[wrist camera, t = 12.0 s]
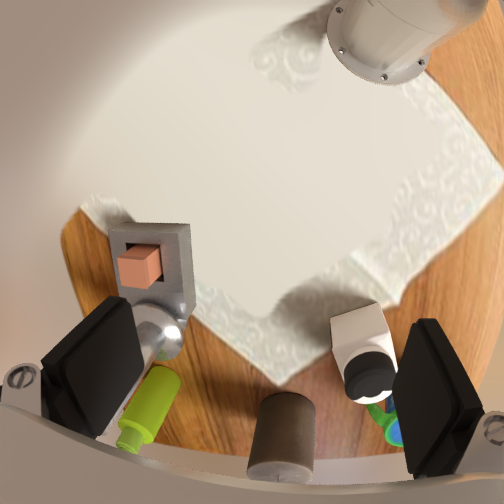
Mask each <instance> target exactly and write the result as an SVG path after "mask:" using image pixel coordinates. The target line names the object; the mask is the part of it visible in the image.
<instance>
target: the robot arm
mask: <svg viewBox="0 0 504 504" xmlns="http://www.w3.org/2000/svg"><path fill="white" fill-rule="evenodd" d="M503 1H504V0H503ZM487 3H488V0H340V1H339V2H337V3H336V4H335V5H334V7H333V9H332V10H331V12H330V15H329V18H328V22H327V36H328V40H329V44H330V46H331V48H332V50H333V52H334V54H335V55H336V57H337V58H338V59H339V61H340V62H341V63H342V64H343V65H344V66H345V67H346V68H347V69H348V70H350V71H351V72H352V73H354V74H355V75H357V76H359V77H361V78H362V79H364V80H367V81H369V82H373V83H375V84H381V85H399V84H404V83H406V82H409V81H411V80H413V79H414V78H416V77H418V76H419V75H420V74H421V73H422V72H423V71H424V69H425V68H426V66H427V65H428V62H429V59H430V53H431V51H433V50H434V49H436V48H437V47H439V46H441V45H442V44H444V43H445V42H447V41H449V40H450V39H452V38H453V37H455V36H457V35H458V34H460V33H462V32H463V31H465V30H466V29H468V28H470V27H471V26H473V25H474V24H475V23H476V22H478V21H479V19H480V18H481V17H482V15H483V14H484V12H485V9H486V6H487ZM337 11H339V12H341V13H337ZM339 51H343V54H341V53H339ZM418 62H420V64H421V65H420V64H419V63H418ZM381 77H384V80H382V79H381ZM41 363H42V365H43V367H44V368H43V369H42V370H41V371H40V369H39V367H38V366H36V365H35V364H32V363H22V364H19V365H16V366H15V367H13V368H11V369H10V370H9V371H8V372H7V373H6V375H5V377H4V380H3V385H2V386H0V504H504V412H500V411H491V412H488V413H486V414H485V412H484V410H483V408H482V407H483V406H482V403H481V401H480V399H479V397H478V395H477V393H476V391H475V389H474V387H473V385H472V383H471V381H470V379H469V377H468V375H467V373H466V371H465V369H464V367H463V365H462V363H461V362H460V360H459V358H458V356H457V354H456V352H455V351H454V349H453V347H452V345H451V343H450V342H449V340H448V338H447V337H446V335H445V333H444V331H443V330H442V328H441V326H440V325H439V323H438V321H437V320H436V319H434V318H420V319H418V321H417V323H413V324H412V326H411V329H410V333H409V336H408V339H407V343H406V346H405V349H404V352H403V355H402V358H401V362H400V365H399V367H398V370H397V373H396V376H395V379H394V382H393V385H392V397H393V401H394V405H395V409H396V414H397V418H398V423H399V427H400V432H401V437H402V442H403V447H404V452H405V458H406V463H407V469H408V472H409V473H410V474H413V477H414V480H408V481H398V482H387V483H372V484H355V485H354V484H353V485H311V484H310V485H307V484H291V483H278V482H267V481H258V480H249V479H242V478H235V477H228V476H223V475H217V474H212V473H206V472H202V471H197V470H192V469H187V468H183V467H179V466H175V465H171V464H167V463H164V462H160V461H156V460H153V459H149V458H146V457H142V456H139V455H136V454H133V453H130V452H127V451H124V450H121V449H118V448H115V447H112V446H109V445H107V444H104V443H102V442H99V441H96V440H95V439H96V437H97V436H100V435H102V434H103V432H104V431H105V429H106V428H107V426H108V424H109V423H110V421H111V420H112V418H113V417H114V415H115V414H116V412H117V410H118V409H119V407H120V406H121V404H122V403H123V401H124V400H125V398H126V397H127V395H128V393H129V392H130V390H131V389H132V387H133V386H134V384H135V383H136V381H137V380H138V378H139V377H140V375H141V374H142V372H143V370H144V364H145V363H144V359H143V355H142V351H141V346H140V342H139V338H138V334H137V329H136V325H135V320H134V316H133V311H132V306H131V304H130V303H129V302H128V301H127V299H126V298H124V297H117V296H109V297H108V298H107V299H105V300H104V301H103V302H102V303H101V304H100V305H99V306H98V307H97V308H95V309H94V310H93V311H92V312H91V313H90V314H89V315H88V316H87V317H86V318H85V319H83V321H82V322H80V323H79V324H78V325H77V326H76V327H75V328H74V329H73V330H72V331H71V332H70V333H69V334H67V335H66V336H65V337H64V338H63V339H62V340H61V341H60V342H59V343H58V344H57V345H56V346H55V347H54V348H53V349H52V350H51V351H50V352H49V353H48V354H47V355H46V356H45V357H44V358H43V359H42V360H41Z"/></svg>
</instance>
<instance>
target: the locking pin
mask: <svg viewBox="0 0 504 504" xmlns="http://www.w3.org/2000/svg"><path fill="white" fill-rule="evenodd" d="M117 261H118V268H119V274H120V280H121V286H127V287H135V288H142V289H148V288H149V287H150V286H151V285H152V284H153V282H154V281H155V280H156V279H157V278H158V277H159V276H160V275H161V274H162V273H163V266H162V258H161V248H160V244H143V243H138V244H136V245H135V246H133V247H132V248H130V249H129V250H128V251H126V252H125V253H123V254H122V255H120V256H119V257H118V258H117Z"/></svg>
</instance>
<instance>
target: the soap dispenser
mask: <svg viewBox="0 0 504 504" xmlns="http://www.w3.org/2000/svg"><path fill="white" fill-rule="evenodd" d="M180 386H181V380H180V378H179V376H178V375H177V374H176V373H175V372H174V371H173V370H171V369H169V368H167V367H164V366H155V367H153V368H152V369H151V370H150V372H149V374H148V375H147V377H146V378H145V380H144V381H143V383H142V385H141V386H140V388H139V389H138V391H137V393H136V394H135V396H134V397H133V399H132V401H131V402H130V404H129V405H128V407H127V409H126V410H125V412H124V413H123V415H122V417H121V418H120V420H119V421H118V426H119V428H120V429H121V431H122V433H121V435H120V436H119V438H118V440H117V442H116V446H117V447H118V449H121V450H124V451H127V452H130V453H133V454H137V453H138V451H139V449H140V447H141V445H142V443H143V444H150V443H152V442H153V440H154V438H155V436H156V434H157V432H158V430H159V428H160V426H161V424H162V422H163V420H164V418H165V416H166V414H167V412H168V410H169V408H170V406H171V404H172V402H173V400H174V398H175V396H176V394H177V392H178V390H179V388H180Z"/></svg>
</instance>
